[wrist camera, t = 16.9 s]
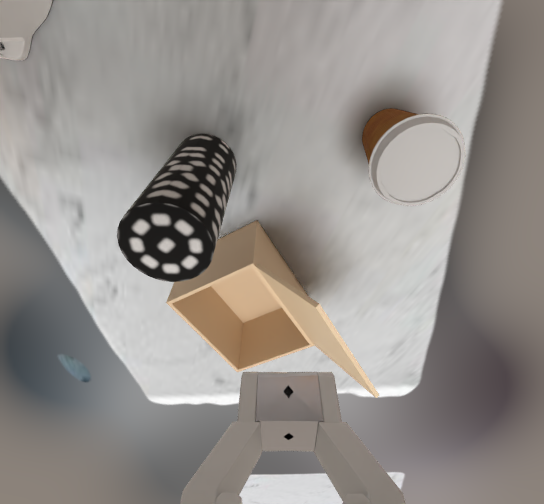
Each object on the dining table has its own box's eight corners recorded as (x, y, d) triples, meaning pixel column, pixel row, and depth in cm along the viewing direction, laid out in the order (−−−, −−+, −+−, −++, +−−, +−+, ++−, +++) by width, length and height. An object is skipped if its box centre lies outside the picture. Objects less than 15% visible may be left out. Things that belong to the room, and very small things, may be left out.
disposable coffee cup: (440, 120, 41) (492, 150, 31) (389, 181, 46) (419, 224, 36) (383, 77, 39) (420, 95, 29) (334, 146, 43) (352, 182, 33)
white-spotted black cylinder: (201, 119, 42) (153, 182, 25) (248, 165, 45) (233, 246, 28) (163, 163, 45) (99, 244, 28) (210, 203, 48) (176, 295, 32)
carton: (242, 322, 63) (237, 372, 54) (184, 256, 54) (166, 302, 45) (308, 296, 59) (314, 345, 50) (257, 220, 50) (253, 263, 41)
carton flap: (376, 398, 39) (379, 394, 39) (315, 307, 30) (319, 304, 30) (312, 343, 49) (315, 341, 50) (255, 266, 41) (258, 263, 41)
